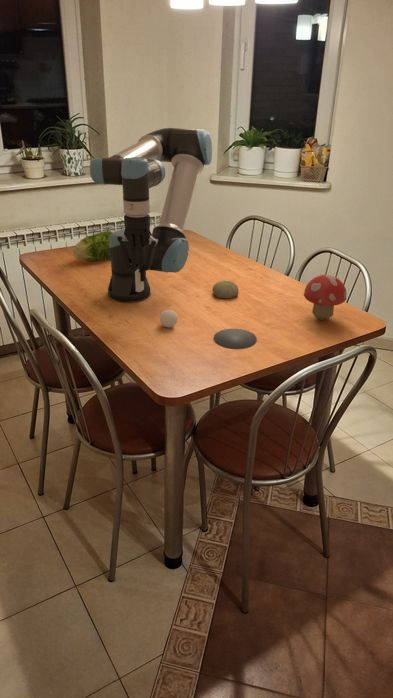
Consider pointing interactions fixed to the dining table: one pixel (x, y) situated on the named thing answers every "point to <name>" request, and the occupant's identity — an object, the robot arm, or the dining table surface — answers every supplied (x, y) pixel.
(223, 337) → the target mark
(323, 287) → the decorative mushroom
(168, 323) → the ball
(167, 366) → the dining table surface
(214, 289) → the sea urchin shell
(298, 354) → the dining table surface
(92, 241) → the lettuce
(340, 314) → the dining table surface
